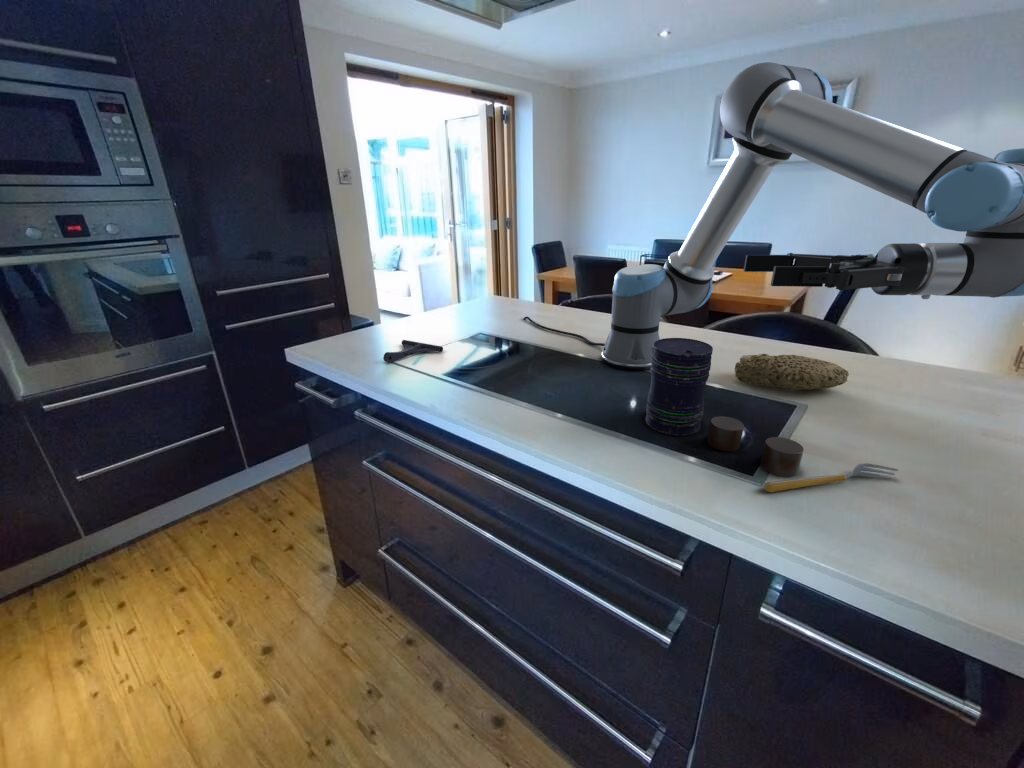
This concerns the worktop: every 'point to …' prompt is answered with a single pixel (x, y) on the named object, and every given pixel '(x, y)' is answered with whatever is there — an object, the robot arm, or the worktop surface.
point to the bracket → (410, 350)
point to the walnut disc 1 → (725, 433)
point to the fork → (827, 478)
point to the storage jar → (678, 385)
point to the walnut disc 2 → (781, 456)
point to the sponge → (789, 372)
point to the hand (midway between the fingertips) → (757, 269)
